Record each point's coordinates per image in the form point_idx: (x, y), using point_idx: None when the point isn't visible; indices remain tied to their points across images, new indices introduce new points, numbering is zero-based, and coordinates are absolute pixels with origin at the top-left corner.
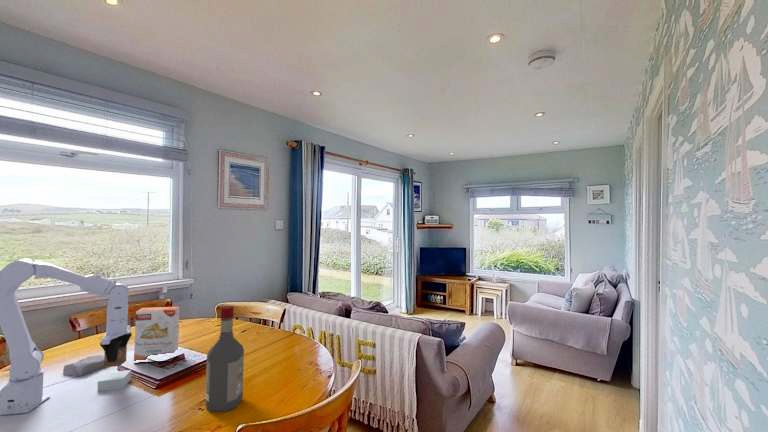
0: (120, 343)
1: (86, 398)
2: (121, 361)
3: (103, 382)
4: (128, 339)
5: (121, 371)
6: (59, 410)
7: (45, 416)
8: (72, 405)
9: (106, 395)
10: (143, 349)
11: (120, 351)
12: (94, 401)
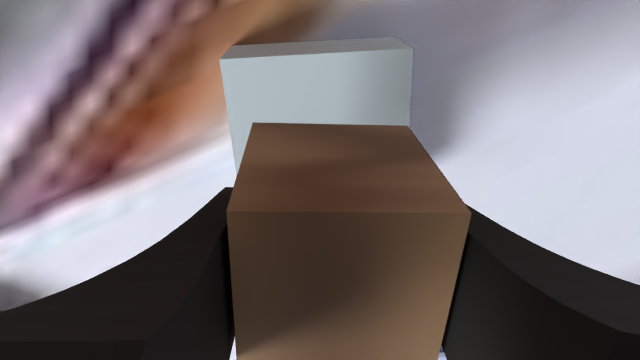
0: (593, 307)
1: (477, 193)
2: (373, 137)
3: None
4: (120, 290)
5: (242, 131)
6: (575, 248)
7: (613, 272)
8: (542, 219)
9: (480, 98)
10: None
11: (452, 207)
12: (543, 131)
